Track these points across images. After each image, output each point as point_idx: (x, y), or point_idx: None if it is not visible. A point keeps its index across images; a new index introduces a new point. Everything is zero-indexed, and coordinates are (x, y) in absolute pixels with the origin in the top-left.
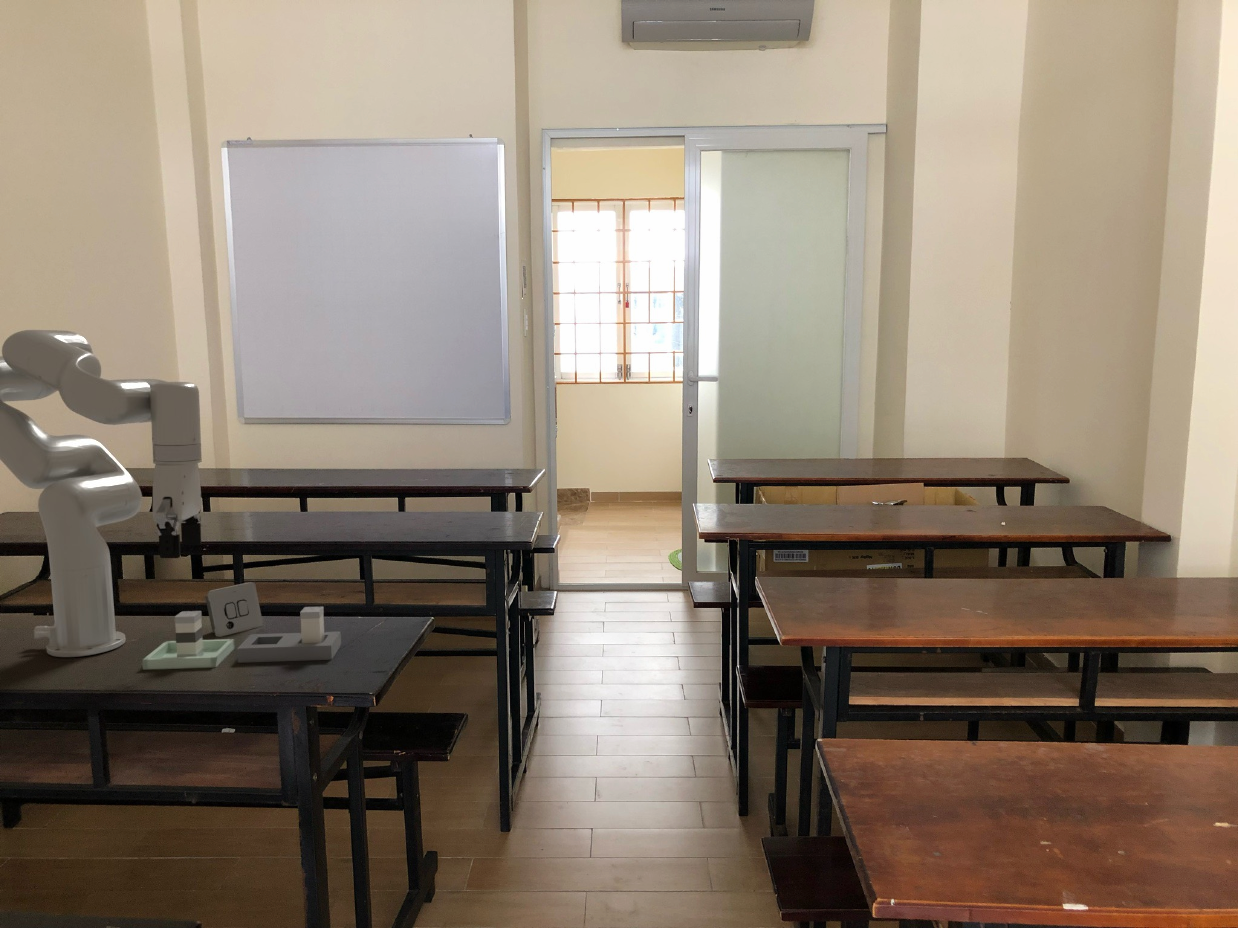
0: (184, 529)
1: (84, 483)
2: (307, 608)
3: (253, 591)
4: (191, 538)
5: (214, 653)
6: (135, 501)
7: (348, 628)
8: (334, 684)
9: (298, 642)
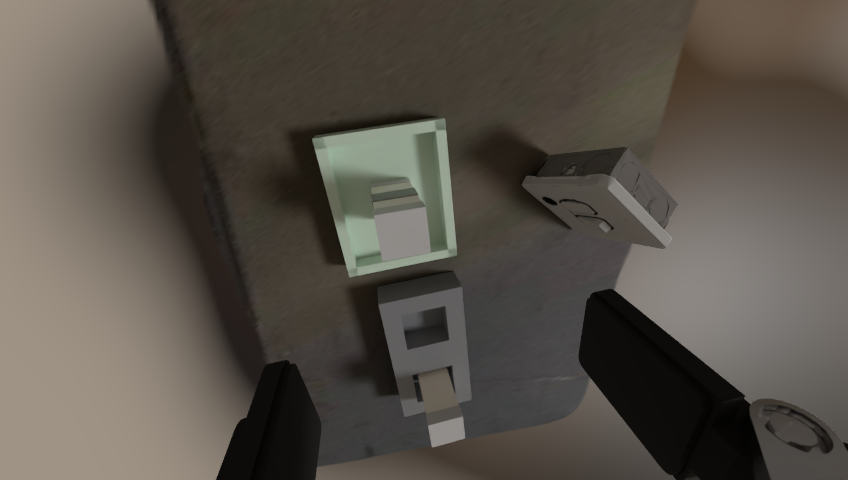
0: (661, 379)
1: None
2: (453, 423)
3: (640, 242)
4: (605, 361)
5: None
6: None
7: (549, 352)
8: None
9: (417, 373)
